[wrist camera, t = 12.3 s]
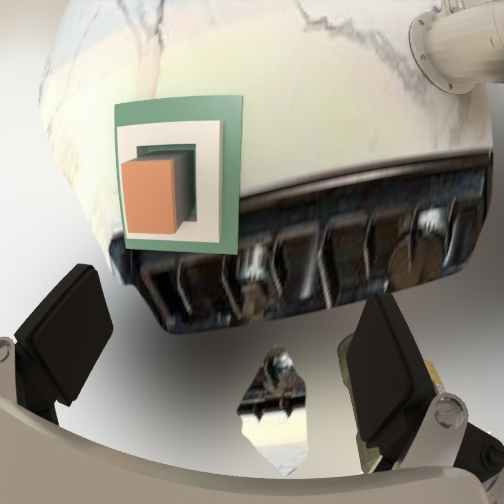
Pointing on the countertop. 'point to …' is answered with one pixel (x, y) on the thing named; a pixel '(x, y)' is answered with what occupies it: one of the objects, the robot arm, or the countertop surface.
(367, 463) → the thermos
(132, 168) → the plug
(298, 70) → the countertop surface
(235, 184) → the board
